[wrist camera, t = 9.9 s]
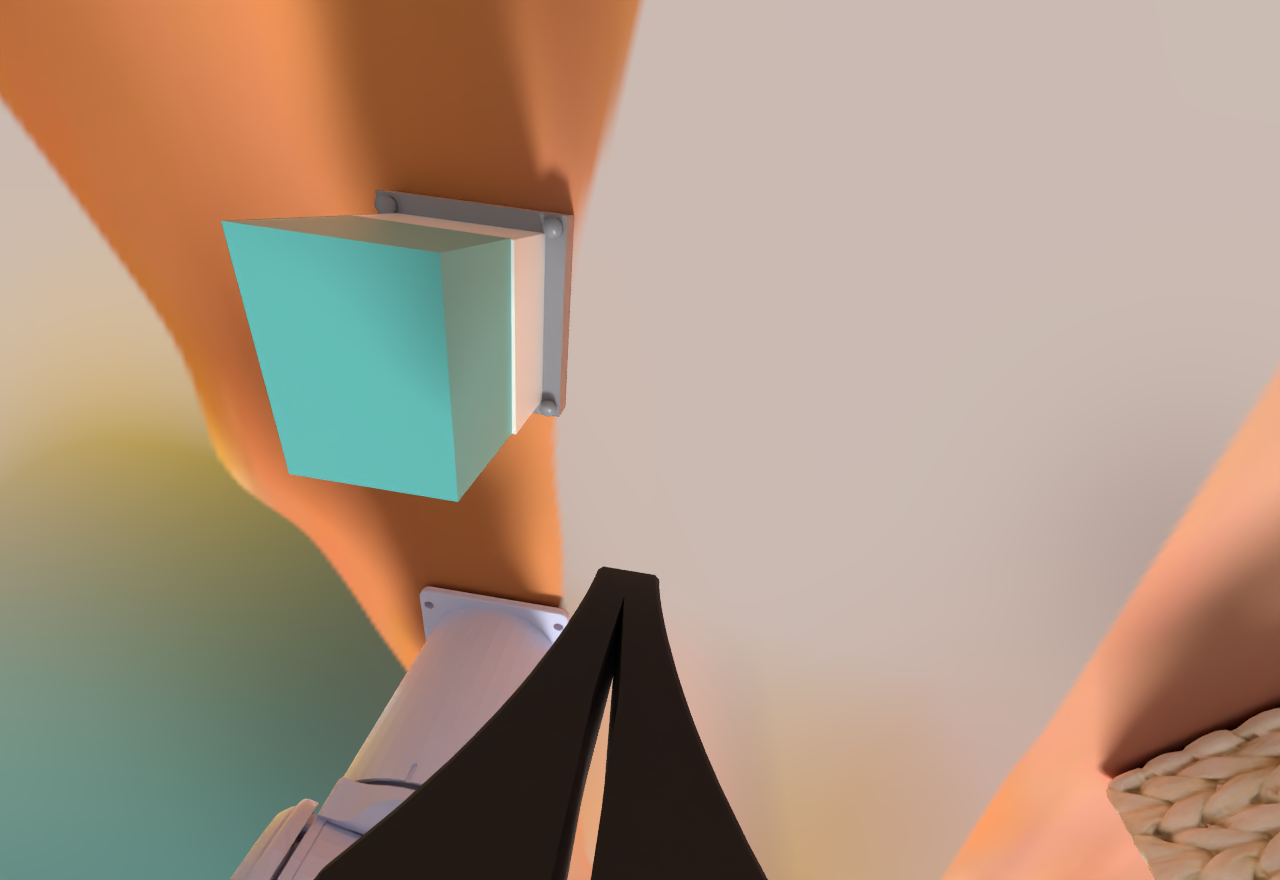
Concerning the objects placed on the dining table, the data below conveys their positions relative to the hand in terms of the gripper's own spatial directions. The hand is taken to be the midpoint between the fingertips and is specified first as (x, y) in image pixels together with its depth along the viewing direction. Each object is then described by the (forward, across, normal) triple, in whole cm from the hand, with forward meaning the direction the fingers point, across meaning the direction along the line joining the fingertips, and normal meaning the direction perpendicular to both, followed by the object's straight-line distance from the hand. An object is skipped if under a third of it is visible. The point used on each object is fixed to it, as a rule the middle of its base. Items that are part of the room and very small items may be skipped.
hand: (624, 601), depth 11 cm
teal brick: (+5, +7, -4) cm, 10 cm away
